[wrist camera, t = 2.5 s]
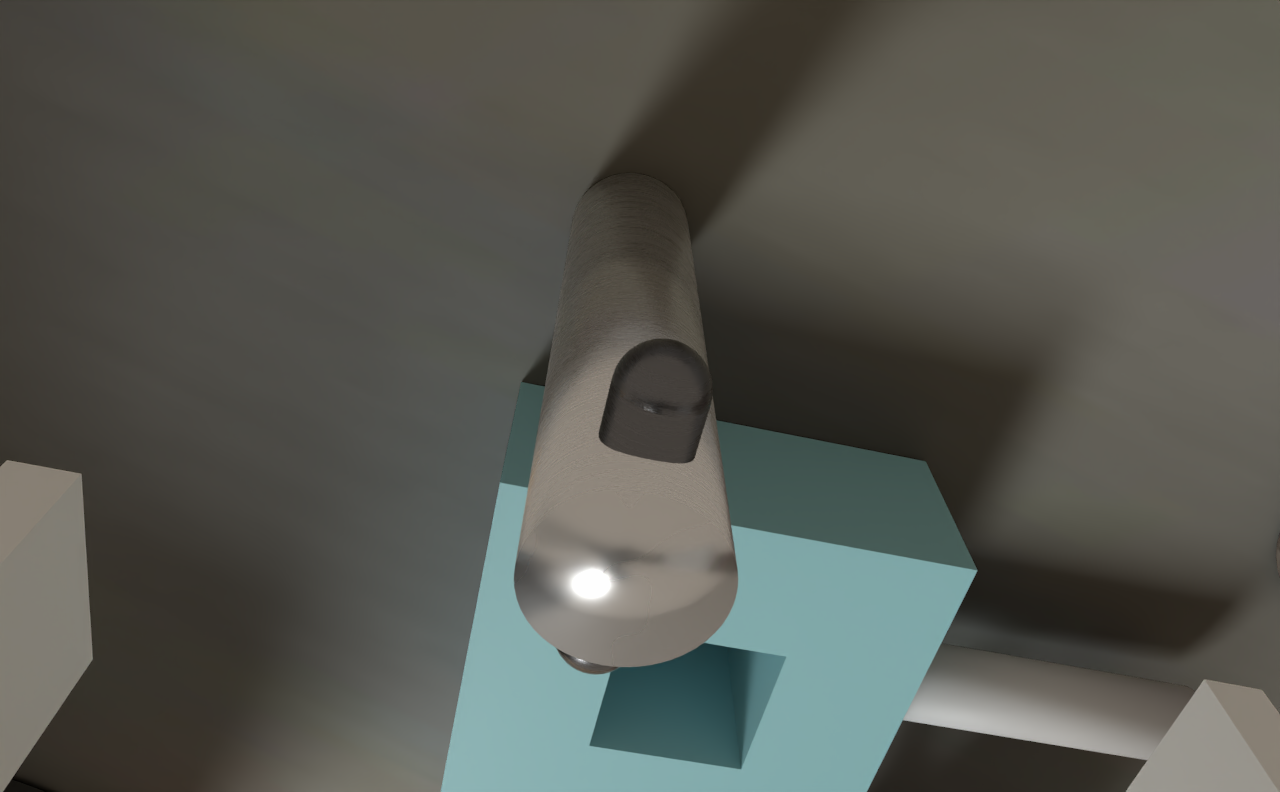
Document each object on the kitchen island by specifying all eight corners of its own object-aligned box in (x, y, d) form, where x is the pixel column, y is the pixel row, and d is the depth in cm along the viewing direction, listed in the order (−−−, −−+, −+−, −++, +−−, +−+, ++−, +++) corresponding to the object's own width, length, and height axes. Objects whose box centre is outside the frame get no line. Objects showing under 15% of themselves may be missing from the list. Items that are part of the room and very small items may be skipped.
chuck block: (462, 687, 33) (436, 814, 29) (521, 382, 28) (499, 482, 23) (1066, 784, 36) (1126, 914, 31) (1234, 522, 30) (1337, 636, 26)
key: (660, 340, 27) (682, 749, 15) (552, 318, 27) (482, 718, 14) (715, 133, 24) (797, 423, 12) (595, 105, 24) (555, 374, 12)
